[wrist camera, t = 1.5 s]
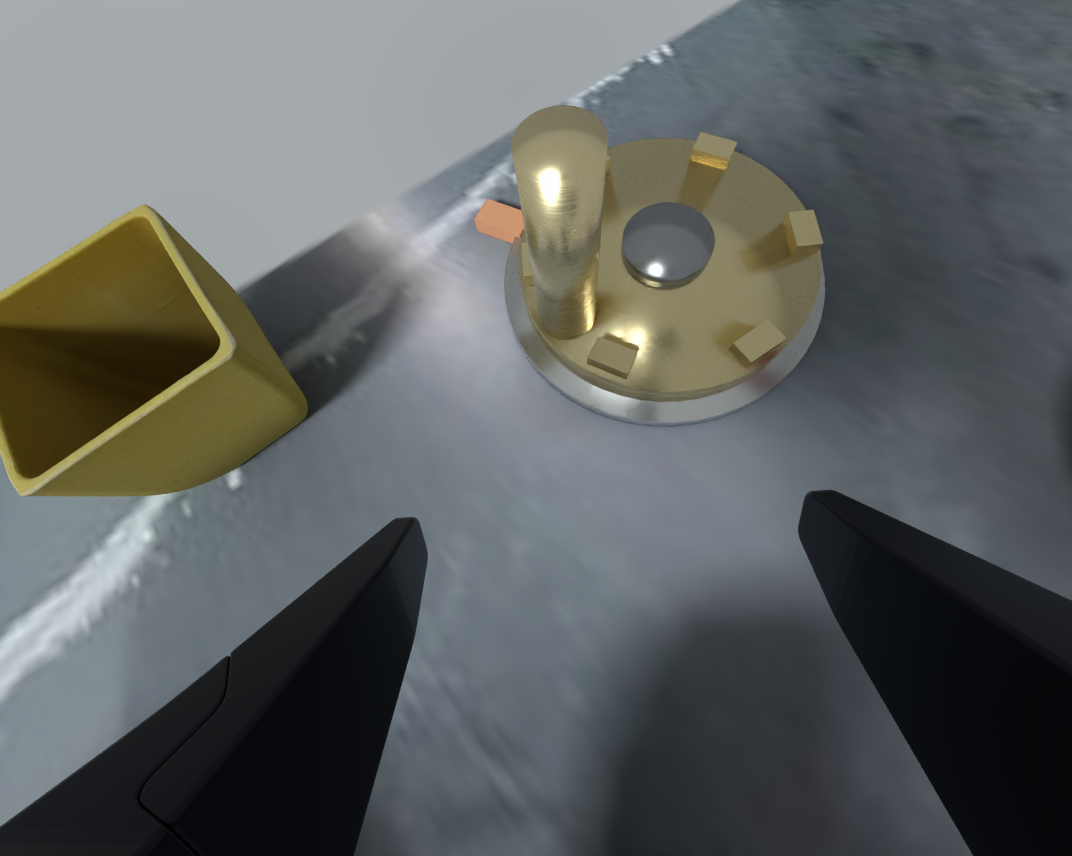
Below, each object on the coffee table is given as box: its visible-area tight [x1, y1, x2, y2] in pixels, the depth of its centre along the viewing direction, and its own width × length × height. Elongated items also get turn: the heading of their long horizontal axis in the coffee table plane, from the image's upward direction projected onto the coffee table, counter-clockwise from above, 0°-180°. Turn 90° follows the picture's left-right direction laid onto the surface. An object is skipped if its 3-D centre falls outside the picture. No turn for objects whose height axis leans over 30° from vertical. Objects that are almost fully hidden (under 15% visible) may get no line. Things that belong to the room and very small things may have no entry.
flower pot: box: [0, 205, 308, 497], centre depth 21 cm, size 9×9×9 cm
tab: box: [474, 199, 524, 243], centre depth 27 cm, size 3×2×1 cm, turn 64°
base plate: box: [504, 202, 825, 427], centre depth 23 cm, size 17×17×4 cm
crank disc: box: [512, 105, 824, 402], centre depth 19 cm, size 15×15×11 cm
